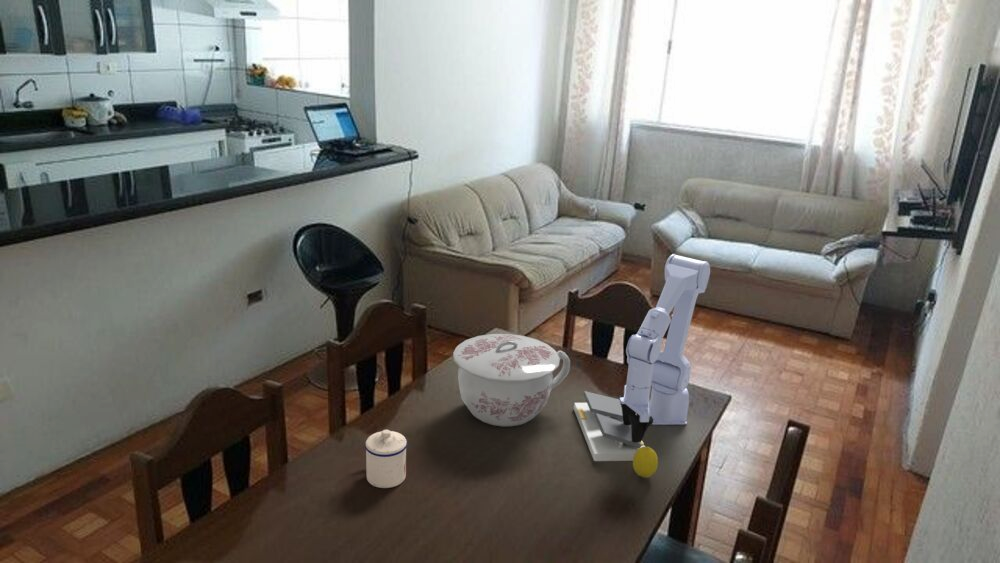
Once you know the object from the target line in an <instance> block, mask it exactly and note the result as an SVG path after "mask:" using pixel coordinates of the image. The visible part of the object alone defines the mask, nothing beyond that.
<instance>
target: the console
mask: <svg viewBox="0 0 1000 563" xmlns="http://www.w3.org/2000/svg"><path fill="white" fill-rule="evenodd" d="M573 411H574V413H575V416H576V418H577V421H578V423H579V427H580V428H581V432H582V433H583V436H584V439H585V441H586V443H587V446H588V450H589V452H590V454H591V457H592V460H593V462H621V461H622V462H627V461H628V462H631V461H632V462H633V458H634V455H635V453H636V451H637V450H638V449H639V448H637V447H634V446H631V445H628V444H625V443H623V445H622V446H620V444H619V442H618V441H616V440H613V439H610V438H607V437H604V436H603V435H602V433H601V431H600V428H599V426H598V424H597V421H596V419H595V417H594V416H595V414H596V413H594V412H591V411H590V409H589V407H588V404H587V402H574V404H573ZM597 414H598V413H597ZM600 415H602V414H600ZM603 416H606V415H603ZM610 418H612V419H615V420H618V421H621V422H623V419H619V418H615V417H611V416H610ZM640 443H641V445H642V446H641V447H646V445H645V443H644V442H643V440H642V441H641V442H640ZM641 447H640V448H641Z"/></svg>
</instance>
